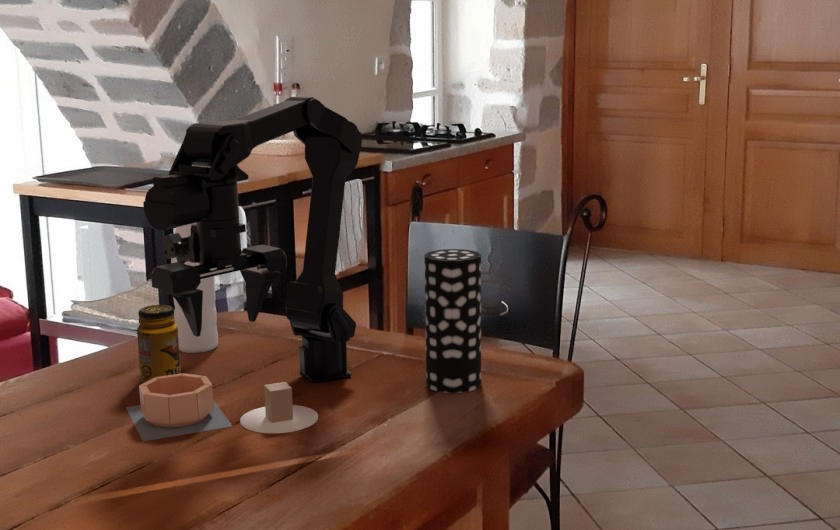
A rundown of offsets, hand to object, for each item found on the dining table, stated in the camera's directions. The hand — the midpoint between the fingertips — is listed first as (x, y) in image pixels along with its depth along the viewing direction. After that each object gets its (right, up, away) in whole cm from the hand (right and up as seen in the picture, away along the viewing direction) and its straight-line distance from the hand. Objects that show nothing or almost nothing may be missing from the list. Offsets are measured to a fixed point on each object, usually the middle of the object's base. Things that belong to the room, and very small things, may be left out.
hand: (225, 328), depth 148 cm
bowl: (-7, -12, +1) cm, 14 cm away
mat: (-7, -13, +1) cm, 15 cm away
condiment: (-14, -10, +16) cm, 23 cm away
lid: (+8, -13, 0) cm, 15 cm away
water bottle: (-11, -6, +34) cm, 37 cm away
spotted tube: (+32, -9, +14) cm, 36 cm away
